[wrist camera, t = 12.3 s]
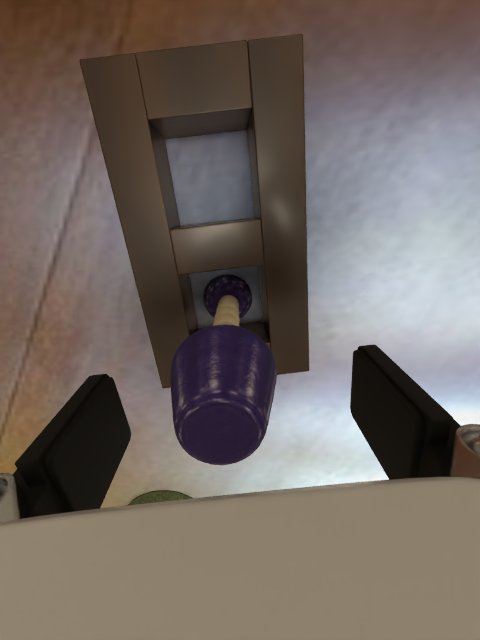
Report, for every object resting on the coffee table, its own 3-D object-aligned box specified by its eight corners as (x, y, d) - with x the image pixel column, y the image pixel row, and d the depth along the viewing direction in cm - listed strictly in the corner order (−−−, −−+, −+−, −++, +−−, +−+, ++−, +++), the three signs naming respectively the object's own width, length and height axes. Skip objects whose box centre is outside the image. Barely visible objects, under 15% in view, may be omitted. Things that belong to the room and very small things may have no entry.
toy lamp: (190, 304, 25) (127, 464, 9) (213, 257, 23) (185, 350, 8) (237, 327, 26) (255, 506, 10) (262, 283, 24) (328, 412, 9)
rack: (286, 72, 19) (303, 32, 15) (296, 346, 26) (309, 371, 22) (111, 93, 19) (78, 58, 15) (172, 360, 26) (162, 388, 22)
